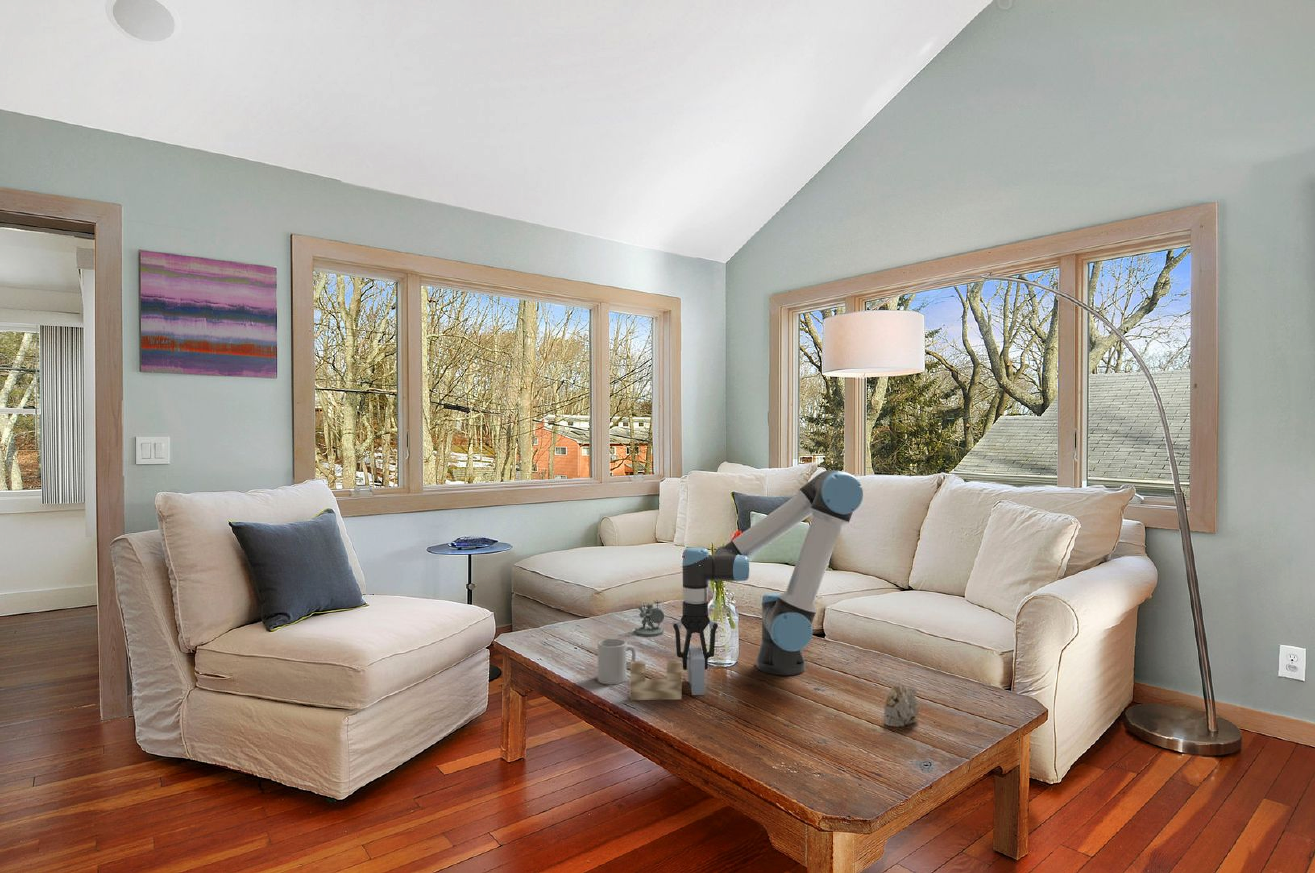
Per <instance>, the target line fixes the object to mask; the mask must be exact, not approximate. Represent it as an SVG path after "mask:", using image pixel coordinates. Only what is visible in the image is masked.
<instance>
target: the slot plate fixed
mask: <svg viewBox="0 0 1315 873" xmlns="http://www.w3.org/2000/svg"><path fill="white" fill-rule="evenodd" d="M630 662H631V667H630V701H651V700H655V701H657V700H659V701H661V700H666V701H667V700H682V687H683V686H682V683H683V681H682V680H683V679H682V676H683V675H682V673H683V672H682V671H683V670H682V669H683V662H682V660H666V678H646V661H645V660H635V661H631V660H630Z"/></svg>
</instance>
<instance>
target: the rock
mask: <svg viewBox="0 0 1315 873" xmlns="http://www.w3.org/2000/svg"><path fill="white" fill-rule="evenodd" d="M916 694H917V691H916V690H915V689H913V688H909V687H905V686H904V685H895V686H892V687H890V691H889V694H888V696H887V697H886V700H885V702H884V706H883V709H884V711H883V713H884V714H883V721H884V725H886V726H889V727H898V728H899V727H904V726H905V725H910V724H914V723H915V722H916V721H917V720H918V719H917V716H918V715H919V712H920V711H919V710H920V704H919V701H918V699H917V698H916Z"/></svg>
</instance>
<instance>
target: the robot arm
mask: <svg viewBox="0 0 1315 873" xmlns="http://www.w3.org/2000/svg"><path fill="white" fill-rule="evenodd" d="M863 490H864V489H863V486H862V484H861V482H860V481H859V480H858V479H857V478H856V477H855V476H854V475H852V474H850V473H849V472H846V471H842V470H841V471H840V470H835V469H828V470H824V471H822V472H820V473H818V474H817V475H816V476H814V477H813V478H812V479H810V481H808V482H806V484H804V485H803V486H801V487H800V488H799V489H797V492H796V495H794V496H793V497H791V498H790V499H789V500H788V501H786V502H785V503H783V504H782V505H781V506H779V507H778V508H776V509H774V510H773V511H771V512H770V513H769V514H768V515H766V516H765V517H763V518H762V519H760V520H759V521H758V522H756V523H755V524H753V525H752V526H751V527H749V528H748V529H746V530H745V531H744V532H742V533H740V535H738V536H737V537H735V538H734V539H732V540H731V541H730V542H728V543H727V544H724V545H722V546H719V547H717V548H716V549H715V550H714V551H713V554H710V552H709V550H708V548H705V547H699V546H693V547H687V548H685V549H684V550H683V552H682V600H683V602H682V614H681V615H682V616H681V618H680V620H678V621H673V622H672V626H673V629H674V633H675V648H676V649H675V652H676V656H677V658H681V659H682V669H683V670H684V671H686V673H685V674H686V678H685V680H686V682H687V683H689V682H690V659H689V646H691V645H690V644H691V639H692V634H699V638H700V639H699V640H700V644H701V645H700V646H701V649H702V652H703V655H704V658H705V671H707V670H708V669H709V662H708V660H709V659H710V658H712V657H715V645H716V632H717V630H718V627H719V625H718V622H717V621H713V620H711V619H710V617H709V602H708V600H709V582H714V581H715V582H716V581H717V582H720V581H721V582H736V583H737V582H745V581H747V580H748V579H749V578H750V561H749V559H750V558H752V557H753V556H754V555H756V554H757V553H759V552H760V551H762V550H763V549H764V548H766V547H767V546H769V545H770V544H771V543H773V542H774V541H776V540H777V539H779V538H780V537H782V536H784V535H785V534H786V533H787V532H789V531H790V530H792V529H793V528H794V527H796V526H797V525H799V524H800V523H802V522H803V521H804V520H806V519H807V518H809V517H811V516H812V515H813V517H812V519H811V521H810V525H809V526H808V527H809V528H808V531H807V533H806V535H805V538H804V540H803V544H802V547H801V548H800V552H799V555H798V558H797V561H796V563H795V565H794V568H793V571H792V573H791V576H790V579H789V582H788V584H787V586H786V591H784V592H783V593H782V592H781V593H780V592H778V593H777V592H771V593H765V594H763V596H762V597H761V603H760V604H761V643H760V647H759V649H758V653H757V655H756V660H755V661H756V664H755V665H756V669H758V670H759V671H761V672H763V673H766V674H770V675H777V676H793V675H799V674H801V673H803V672H805V671H806V660H805V658H804V654H803V651H802V650H803V649H804V648H806V647H807V646H808V645H809V644H810V642H811V641H812V637H813V631H814V628H813V623H814V619H815V617H816V614H817V612H818V611H817V610H818V609H816V606H815V600H816V598H817V595H818V593H819V591H820V587H821V585H822V582H823V579H824V577H825V574H826V571H827V568H828V565H829V562H830V559H831V557H832V554H833V551H834V549H835V547H836V545H837V544H836V543H837V541H838V538H839V535H840V533H841V530H842V528H843V527H844V526H845V525H849V523H850V521H851V518H852V517H853V512H855V511H856V510H857V509H858V508H859V507H860V505H861V504H862V502H863V497H864V491H863ZM714 553H715V555H714ZM684 555H685V558H684ZM694 561H695V562H694ZM696 562H697V563H696ZM699 565H701V566H699ZM708 625H709V629H710V630H709V632H710V633H709V649H707V644H706V638H705V632H704V631H705V630H706V628H707V627H708ZM682 626H683V627H684V628H685V630H686V632H685V639H684V645H683V649H682V645H681V632H680V630H681V629H682ZM681 649H682V650H683V651H682V650H681Z"/></svg>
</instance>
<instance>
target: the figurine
mask: <svg viewBox="0 0 1315 873" xmlns="http://www.w3.org/2000/svg"><path fill="white" fill-rule="evenodd" d="M653 603H654V604H656V605H657V606H656V607H654V605H653ZM653 603H647V604H646V605H645V604H644V603H641V605H638V606H637V609H638V610H639V611H640V613H639V617H640V618H642V620H641V624H642V626H639V627H638V626H637V627H636V628H635V629H634V634H635V635H637V636H639V637H647V638H648V637H651V638H652V637H658V636H659V637H660V636H662V635H663V634H664V632H665V631H664V628H662V627H661V626H660V624H661V623H662V622H663V621H664V619H665V613H664V612H663V610H662V609H661V608H659V606H658V605H659V603H662V600H659V599H658V598H657V599H656V600H654V601H653ZM653 623H654V624H653ZM646 624H647V625H646ZM655 624H658V625H657V626H656V625H655Z"/></svg>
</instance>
